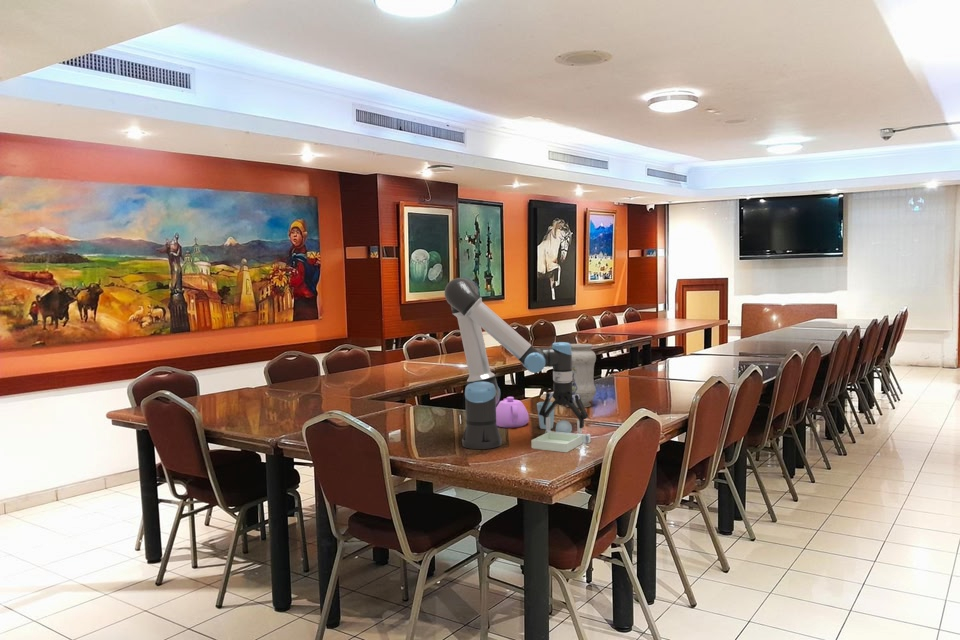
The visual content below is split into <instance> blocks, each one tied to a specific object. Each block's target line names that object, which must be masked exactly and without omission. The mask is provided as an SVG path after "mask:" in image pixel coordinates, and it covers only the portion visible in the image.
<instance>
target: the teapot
mask: <svg viewBox="0 0 960 640" xmlns="http://www.w3.org/2000/svg"><path fill="white" fill-rule="evenodd" d="M529 420H530V417H529V413H528V410H527V408H526V406H525V404H524V403H523V402H522V401H521V400H518V399H515V397H514V396H507V397H506V398H503V400H499V402H498V404H497V405H496V424H497V427H499V428H505V429H508V428H509V429H510V428H511V429H512V428H513V429H514V428H522V427H525V426H526V425H527V424H528V423H529Z"/></svg>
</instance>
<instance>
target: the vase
mask: <svg viewBox="0 0 960 640" xmlns="http://www.w3.org/2000/svg"><path fill="white" fill-rule="evenodd" d="M570 345H571V352H572V381H571V382H572V394H573V395H577V394H580V398H581V401H582V404H583V406H584V408H585V409H586V408H588V407H591V406H592V403H590V402H591V401H592V400H593V399H594V398H595V396H596V392H597V388H596V386H595V383H594V377H595V376H594V374H595V372H594V371H595V363H596V360H597V355H596V353H595V351H594V350H592V348H593V346H594V345H593V344H592V343H570ZM572 401H573V402H574V405H575V406H576V407H577V408H578V406H577V404H576V401H575V400H574V398H573V399H572ZM564 406H565V407H566V408H570V407H569V406H568V405H564ZM578 409H579V408H578Z"/></svg>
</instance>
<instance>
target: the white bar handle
mask: <svg viewBox="0 0 960 640" xmlns="http://www.w3.org/2000/svg"><path fill="white" fill-rule="evenodd" d="M547 432H551V433H561V434H571V435H580V436H582V444H589V443H591V434H590V433H587V434H584V433H582V434H577V433H573V432H571V433H564V432H556V431H554V430H551V431H550V430H547V431H546V430H545V432H544V434H545V433H547Z"/></svg>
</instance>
